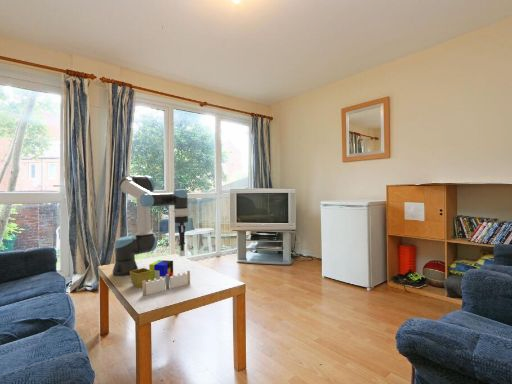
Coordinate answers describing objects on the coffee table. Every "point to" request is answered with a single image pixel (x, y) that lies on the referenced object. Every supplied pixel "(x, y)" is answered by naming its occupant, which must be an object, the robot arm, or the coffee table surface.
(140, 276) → the flower pot
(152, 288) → the fence fixed
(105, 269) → the coffee table surface
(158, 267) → the puzzle toy
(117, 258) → the robot arm
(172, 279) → the fence wing
